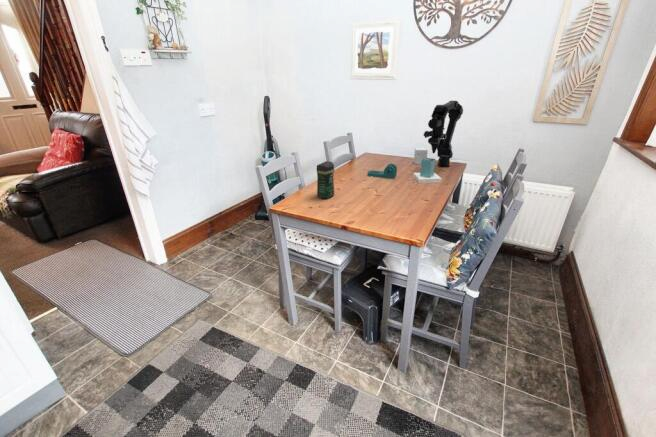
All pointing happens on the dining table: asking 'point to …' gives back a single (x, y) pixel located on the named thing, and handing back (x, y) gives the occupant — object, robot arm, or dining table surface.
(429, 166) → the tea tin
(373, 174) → the bracket
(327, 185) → the coffee jar
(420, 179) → the riser block
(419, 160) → the small box
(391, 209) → the dining table surface
